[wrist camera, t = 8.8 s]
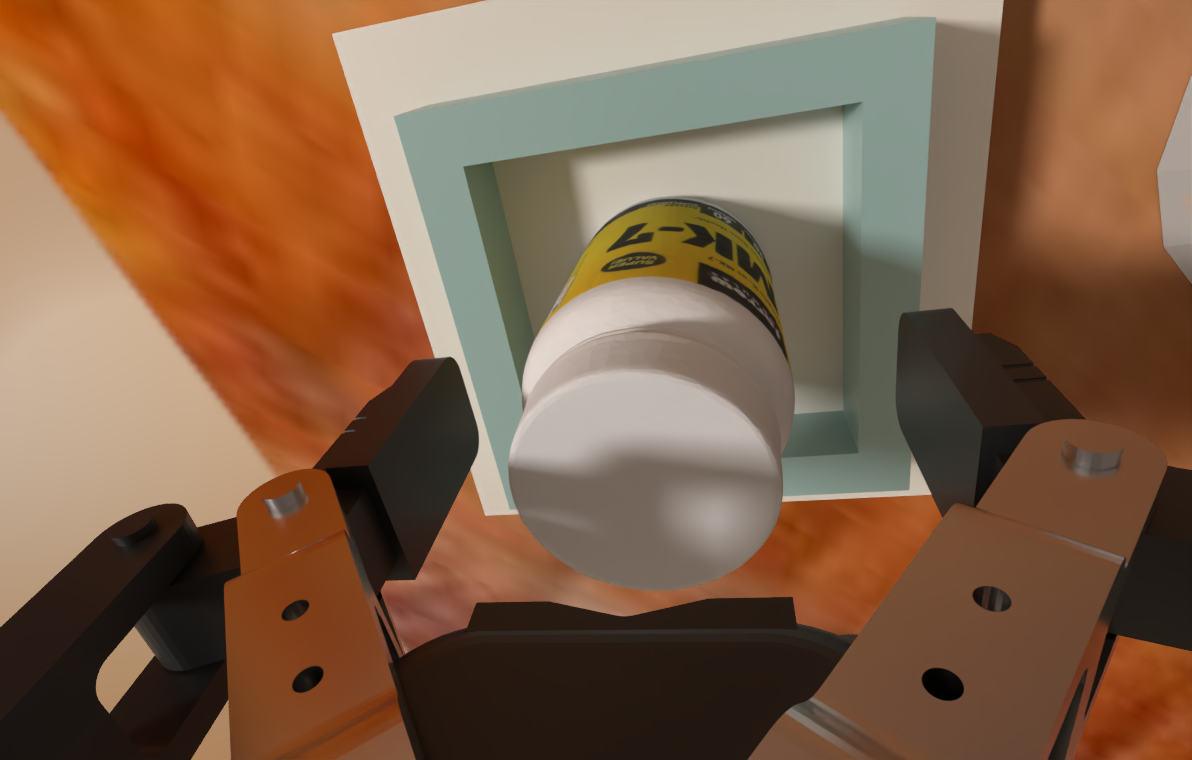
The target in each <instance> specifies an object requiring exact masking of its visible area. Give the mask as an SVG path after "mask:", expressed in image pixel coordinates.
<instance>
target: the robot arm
mask: <svg viewBox="0 0 1192 760" xmlns="http://www.w3.org/2000/svg"><path fill="white" fill-rule="evenodd" d="M895 397H896V411H897V417H898V421H899V425H900V428H901V431H902V433H903V435H904V437H905V439H906V441H907V444H908V446H909V448H910V450H911V452H912V454H913V456H914V458H915V460H916V463H917V465H918V467H919V469H920V471H921V473H922V475H923V477H924V480H925V482H926V484H927V486H928V488H929V490H930V492H931V494H932V496H933V499H934V501H935V503H936V505H937V507H938V509H939V511H940V513H941V515H942V520H941V521H940V522H939V524H938V525H937V527H936V528H935V529H934V531H933V532H932V534H931V535H930V536H929V538H928V539H927V540H926V542H925V543H924V545H923V546H922V547H921V549H920V550H919V552H918V553H917V554H916V556H915V557H914V558H913V560H912V561H911V563H910V564H909V565H908V567H907V568H906V570H905V571H904V572H903V574H902V575H901V576H900V578H899V579H898V581H897V582H896V583H895V585H894V586H893V588H892V589H891V590H890V592H889V593H888V594H887V596H886V597H885V599H884V600H883V601H882V603H881V604H880V606H879V607H878V608H877V610H876V611H875V612H874V614H873V615H872V617H871V618H870V619H869V621H868V622H867V624H866V625H865V626H864V628H863V629H862V630H861V632H860V633H859V635H858V636H857V637H856V639H855V640H854V642H853V641H851V640H848V639H846V638H843V637H841V636H839V635H836V634H834V633H831V632H827V631H824V630H821V629H818V628H814V627H811V626H806V625H802V624H797V623H796V616H795V610H794V603H793V597H772V598H716V599H705V600H701V601H696V602H692V603H687V604H683V605H678V606H674V607H669V608H665V609H660V610H656V611H651V612H647V613H643V614H638V615H634V616H615V615H610V614H606V613H601V612H596V611H591V610H587V609H582V608H577V607H572V606H568V605H563V604H558V603H553V602H549V601H548V602H492V603H476V606H475V608H474V611H473V614H472V616H471V619H470V622H469V624H468V627H467V628H464V629H460V630H457V631H454V632H451V633H448V634H445V635H442V636H440V637H438V638H435V639H433V640H431V641H428V642H426V643H424V644H422V645H421V646H419V647H417V648H415V649H413V650H411V651H410V652H408V653H406V654H405V652H404V649H403V646H402V643H401V641H400V638H399V635H398V633H397V630H396V627H395V624H394V622H393V619H392V616H391V614H390V611H389V608H388V605H387V603H386V601H385V598H384V596H383V594H382V592H381V588H382V586H383V585H384V583H385V581H388V580H415V579H416V577H417V575H418V573H419V571H420V569H421V567H422V565H423V563H424V561H425V559H426V557H427V555H428V553H429V551H430V549H431V547H432V545H433V543H434V541H435V539H436V537H437V535H438V533H439V531H440V529H441V527H442V525H443V523H444V521H445V519H446V517H447V515H448V513H449V511H450V509H451V507H452V505H453V503H454V501H455V499H456V497H457V495H458V493H459V491H460V489H461V487H462V485H463V483H464V481H465V479H466V477H467V475H468V473H469V471H470V469H471V467H472V465H473V463H474V461H475V459H476V456H477V453H478V448H479V432H478V427H477V423H476V420H475V416H474V413H473V410H472V407H471V403H470V400H469V397H468V393H467V390H466V387H465V384H464V380H463V377H462V374H461V371H460V368H459V365H458V363H457V362H456V360H455V359H454V358H452V357H442V358H432V359H422V360H414V361H412V362H411V363H410V364H409V365H408V366H407V368H406V369H405V370H404V371H403V373H402V374H401V375H400V376H399V377H398V379H397V380H396V381H395V382H394V384H393V385H392V386H391V387H389V388H388V389H386V390H385V391H383V392H382V393H380V394H379V395H378V396H376V397H375V398H373V399H372V400H370V401H369V402H368V403H367V404H366V405H365V407H364V408H363V409H362V410H361V411H360V413H359V414H358V415H357V416H356V420H353V421H352V422H351V423H350V424H349V426H348V427H347V428H346V429H345V433H343V434H341V435H340V436H339V438H338V439H337V440H336V441H335V442H334V444H333V445H332V446H331V447H330V448H329V449H328V451H327V452H326V453H325V454H324V455H323V457H322V458H321V459H320V460H319V461H318V463H317V464H316V465H315V466H314V467H313V468H312V469H302V470H297V471H293V472H289V473H286V474H283V475H281V476H278V477H276V478H274V479H272V480H270V481H268V482H266V483H264V484H263V485H261V486H260V487H258V488H257V489H255V490H254V491H253V492H251V494H249V496H247V497H246V498H245V499H244V500H243V502H242V503H241V505H240V506H239V508H238V511H237V517H235V518H231V519H228V520H224V521H220V522H216V523H213V524H209V525H205V526H201V527H196V525H195V523H194V522H193V520H192V518H191V517H190V515H189V513H188V512H187V510H186V508H185V507H183V506H182V505H179V504H162V505H157V506H153V507H150V508H147V509H144V510H141V511H139V512H136V513H134V514H132V515H130V516H128V517H126V518H124V519H122V520H120V521H118V522H117V523H115V524H114V525H112V526H111V527H109V528H108V529H107V530H105V531H104V532H102V533H101V534H100V535H99V536H98V537H97V538H95V539H94V540H93V541H92V542H91V543H90V544H89V545H88V546H87V547H86V548H85V549H84V550H83V551H82V552H80V553H79V554H78V555H77V556H76V557H75V558H74V559H73V560H72V561H71V562H70V563H69V564H68V565H67V566H66V567H64V568H63V569H62V570H61V571H60V572H59V573H58V574H57V575H56V576H55V577H54V578H53V579H52V580H51V581H49V582H48V583H47V584H46V585H45V586H44V587H43V588H42V589H41V590H40V591H39V592H38V593H37V594H36V595H35V596H34V597H33V598H31V599H30V600H29V601H28V602H27V603H26V604H25V605H24V606H23V607H22V608H21V609H20V610H18V611H17V613H15V614H14V615H13V616H12V617H11V618H10V619H9V620H8V621H7V622H6V623H5V624H3V626H2V627H0V760H191V758H192V757H193V755H194V753H195V752H196V750H197V749H198V747H199V745H200V744H201V742H202V741H203V739H204V737H205V735H206V734H207V732H208V731H209V729H210V728H211V726H212V724H213V723H214V721H215V720H216V718H217V717H218V715H219V713H220V712H221V710H222V709H223V707H224V705H225V704H226V702H227V701H229V724H230V749H231V760H1073V758H1074V755H1075V752H1076V750H1077V747H1078V744H1079V741H1080V739H1081V736H1082V733H1083V731H1084V728H1085V725H1086V723H1087V720H1088V718H1089V715H1090V712H1091V710H1092V707H1093V705H1094V702H1095V699H1096V697H1097V694H1098V691H1099V689H1100V686H1101V684H1102V681H1103V678H1104V676H1105V673H1106V671H1107V668H1108V665H1109V663H1110V660H1111V657H1112V655H1113V652H1114V650H1115V647H1116V644H1117V642H1118V639H1119V636H1125V637H1129V638H1134V639H1139V640H1143V641H1148V642H1152V643H1157V644H1161V645H1166V646H1171V647H1175V648H1180V649H1184V650H1189V651H1192V470H1188V469H1181V468H1176V467H1171V466H1167V465H1168V463H1167V458H1166V456H1165V454H1164V453H1163V451H1162V450H1161V449H1160V448H1159V447H1158V446H1157V445H1156V444H1154V443H1153V442H1152V441H1150V440H1149V439H1147V438H1146V437H1144V436H1142V435H1140V434H1138V433H1136V432H1134V431H1131V430H1129V429H1126V428H1123V427H1120V426H1117V425H1113V424H1109V423H1104V422H1099V421H1092V420H1086V419H1085V418H1084V417H1083V416H1082V415H1081V414H1080V413H1079V412H1078V411H1077V410H1076V408H1075V407H1074V406H1073V405H1072V404H1071V403H1070V402H1069V401H1068V400H1067V399H1066V398H1065V397H1064V396H1063V394H1062V393H1061V392H1060V391H1059V390H1058V389H1057V388H1056V387H1055V386H1054V385H1053V384H1052V383H1051V382H1050V381H1047V380H1046V376H1045V375H1044V374H1043V373H1042V372H1041V371H1040V370H1039V369H1038V368H1037V367H1036V366H1035V367H1034V366H1033V362H1032V361H1031V360H1030V359H1029V358H1028V357H1027V356H1026V355H1025V354H1024V353H1023V352H1022V351H1021V349H1020V348H1019V347H1018V346H1016V345H1014V344H1012V343H1010V342H1007V341H1005V340H1003V339H1001V338H999V337H997V336H995V335H993V334H991V333H987V334H976V335H975V334H974V333H973V332H972V330H971V329H970V328H969V327H968V326H967V324H966V323H965V322H964V321H963V320H962V318H961V317H960V316H959V315H958V314H957V312H956V311H955V310H954V309H953V308H945V309H934V310H924V311H914V312H904V313H902V315H901V317H900V320H899V327H898V348H897V371H896V396H895ZM133 627H135V628H136V629H137V631H138V632H139V634H140V635H141V636H142V638H143V639H144V640H145V642H146V643H147V645H148V646H149V647H150V649H151V650H152V652H153V653H154V654H155V656H154V657H153V659H152V660H151V661H150V662H149V664H148V665H147V666H146V667H145V669H144V670H143V671H142V673H141V674H140V675H139V676H138V678H137V679H136V680H135V682H134V683H133V684H132V686H131V687H130V688H129V689H128V691H127V692H126V693H125V694H124V696H123V697H122V698H121V700H120V701H119V702H118V703H117V705H116V706H115V707H114V709H113V710H112V711H111V712H110V714H109V713H108V712H107V710H106V709H105V708H104V707H103V705H102V704H101V703H100V701H99V700H98V697H97V694H96V679H97V676H98V673H99V670H100V668H101V666H102V664H103V663H104V661H105V660H106V659H107V657H108V656H109V655H110V654H111V653H112V652H113V650H114V649H115V648H116V647H117V645H118V644H119V643H120V642H121V641H122V640H123V639H124V637H125V636H126V635H127V634H128V633H129V632H130V630H131V629H132V628H133Z"/></svg>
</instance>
